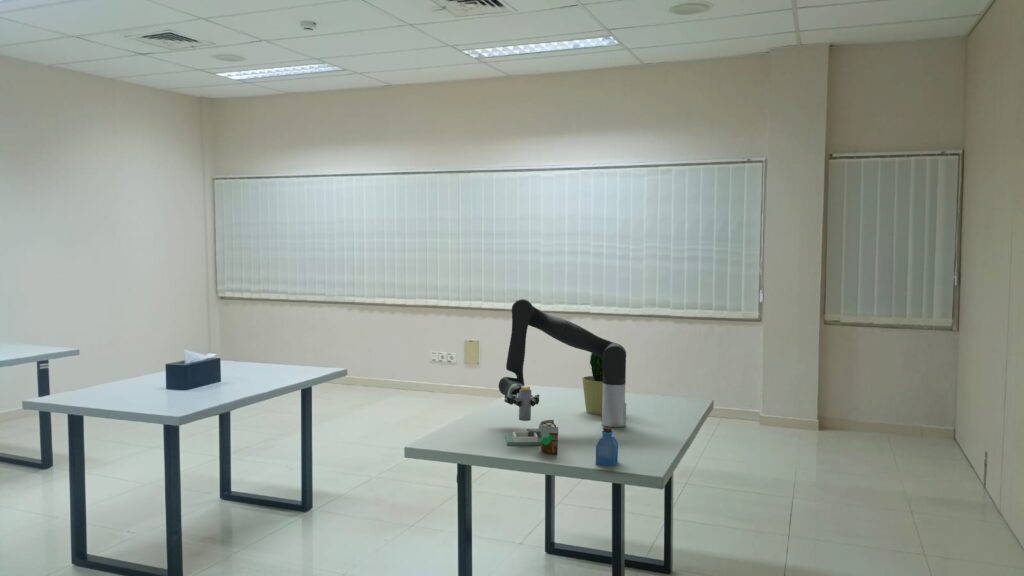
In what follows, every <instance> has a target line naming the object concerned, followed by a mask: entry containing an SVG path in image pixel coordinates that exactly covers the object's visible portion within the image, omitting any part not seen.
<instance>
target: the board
mask: <svg viewBox="0 0 1024 576" xmlns="http://www.w3.org/2000/svg"><path fill="white" fill-rule="evenodd" d="M504 439H505V443H506V444H505V445H506V446H541V432H540V430H539V428H526V431H512V433H504Z"/></svg>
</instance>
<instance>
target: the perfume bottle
mask: <svg viewBox="0 0 1024 576" xmlns="http://www.w3.org/2000/svg"><path fill="white" fill-rule="evenodd" d="M601 433H602V436H601V437H600V438H599V440H598V442H597V444H596V446H595V465H597V466H604V465H605V466H606V467H615V466H616V465H617V464H618V462H619V461H618V459H619V458H618V457H619V442H618V441H617V439H616V437H615V436H613V433H614V432H613V427H608V426H603V427H602V431H601ZM615 464H616V465H615ZM605 466H604V467H605Z"/></svg>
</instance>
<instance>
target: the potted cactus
mask: <svg viewBox="0 0 1024 576" xmlns="http://www.w3.org/2000/svg"><path fill="white" fill-rule="evenodd" d="M588 357H589V358H590V359H589V358H588V360H589V365H590V367H591V372H590V373H591V375H588V376H583V377H582V388H583V394H584V395H583V397H584V403H585V404H584V405H585V411H586V413H588V414H592V415H602V399H603V359H602V358H601V357H599V356H597V355H595V354H593V353H591V352H590V355H588Z"/></svg>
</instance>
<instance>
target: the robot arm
mask: <svg viewBox="0 0 1024 576" xmlns="http://www.w3.org/2000/svg"><path fill="white" fill-rule="evenodd" d="M529 326H530V327H532V328H535V329H538V330H539V331H541V332H542V333H545V334H546V335H548V336H549V337H551V338H553V339H555V340H556V341H559V342H561V343H563V344H565V345H566V346H568V347H569V346H570V347H572V348H575V349H577V350H578V349H579V350H582V351H585V352H589V353H590V354H591V353H593V354H595V355H597V356H599V357H601V358H602V359H603V399H602V414H601V425H602V426H603V427H612V428H621V427H626V426H627V403H626V379H627V378H626V374H627V373H626V372H627V371H626V369H627V351H626V349H625V348H624V346H623V345H622V344H619V343H617V342H613V341H611V340H608V339H605V338H602V337H600V336H598V335H596V334H594V333H592V332H591V331H589V330H587V329H586V328H584V327H582V326H580V325H578V324H576V323H574V322H571V321H570V320H567V319H565V318H562V317H558V316H554V315H551V314H548V313H546V312H543V311H542V310H540V309H538V308H537V307H535V306H533V305H532V302H531V301H529V300H528V299H523V298H522V299H517V300H516V301H514V302H513V304H512V306H511V334H510V341H509V347H508V351H507V358H506V364H505V365H506V366H505V368H506V370H507V371H508V372H510V373H514V374H515V376H516V377H512V376H511V377H510V376H504V377H502V378H500V380H499V381H498V390H499V392H500V393H501V395H503V396H504V403H507V404H508V405H511V406H512V405H515V406H517V407H518V408H519V407H521V400H520V399H519V394H520V389H521V387H522V386H525V380H524V363H525V358H526V357H525V356H526V347H527V346H526V343H527V332H528V328H529ZM539 403H540V394H536V395H534V396H533V395H532V394H531V407H534V406H535V405H539Z"/></svg>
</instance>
